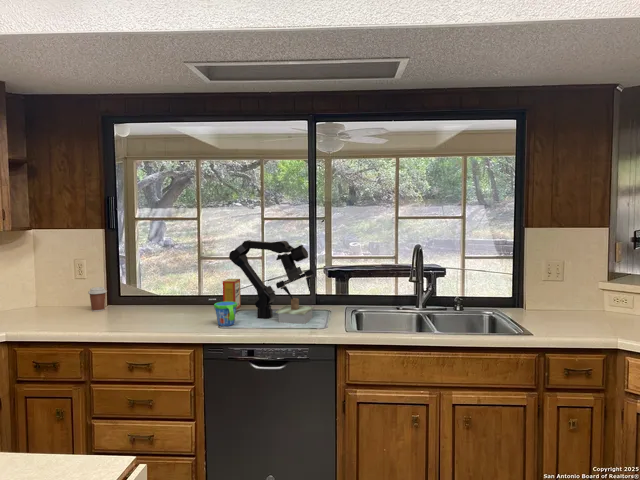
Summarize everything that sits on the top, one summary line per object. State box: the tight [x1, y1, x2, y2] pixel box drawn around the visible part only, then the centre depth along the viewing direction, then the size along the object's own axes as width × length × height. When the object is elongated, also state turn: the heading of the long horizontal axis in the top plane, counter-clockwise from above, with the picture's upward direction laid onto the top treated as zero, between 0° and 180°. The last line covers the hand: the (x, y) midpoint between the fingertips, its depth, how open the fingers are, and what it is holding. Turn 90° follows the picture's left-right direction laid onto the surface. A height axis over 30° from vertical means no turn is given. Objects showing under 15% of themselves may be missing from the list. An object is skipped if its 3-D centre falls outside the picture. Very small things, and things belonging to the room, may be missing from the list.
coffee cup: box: [87, 286, 108, 312], centre depth 253 cm, size 9×9×12 cm
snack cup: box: [213, 301, 237, 327], centre depth 220 cm, size 16×10×10 cm
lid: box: [275, 297, 314, 315], centre depth 226 cm, size 14×14×6 cm
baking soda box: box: [222, 278, 242, 310], centre depth 256 cm, size 10×6×16 cm
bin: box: [278, 309, 313, 325], centre depth 226 cm, size 13×13×5 cm
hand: (301, 295), depth 225 cm, fingers open, 9 cm apart
